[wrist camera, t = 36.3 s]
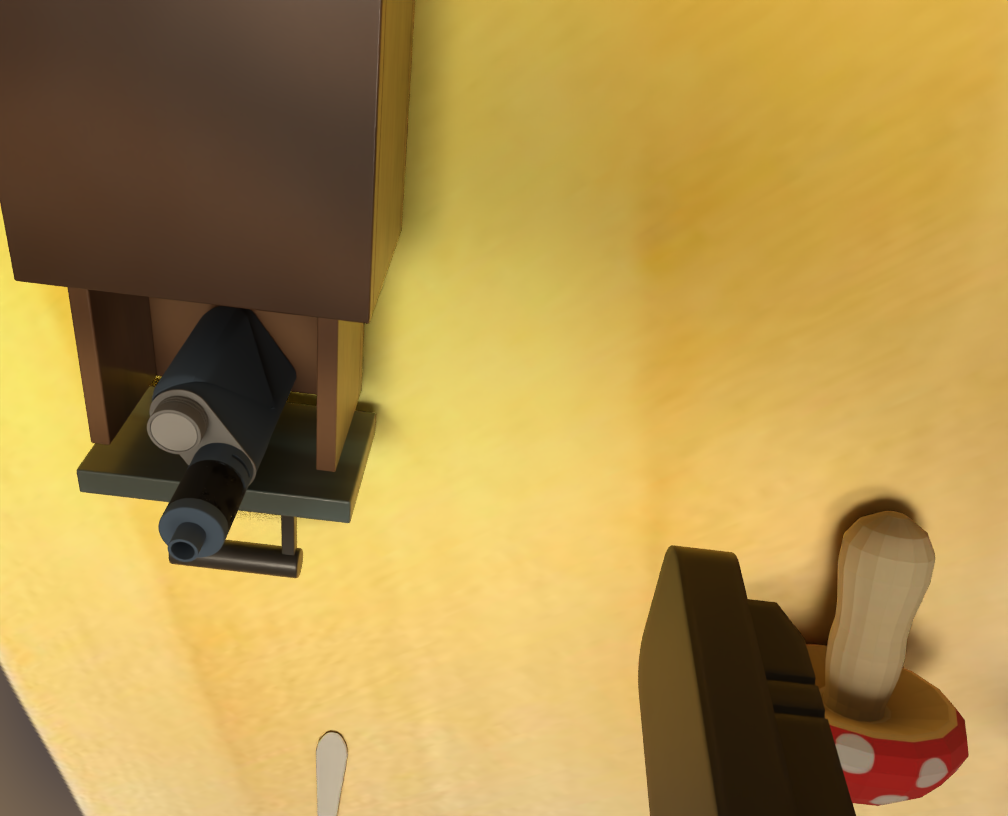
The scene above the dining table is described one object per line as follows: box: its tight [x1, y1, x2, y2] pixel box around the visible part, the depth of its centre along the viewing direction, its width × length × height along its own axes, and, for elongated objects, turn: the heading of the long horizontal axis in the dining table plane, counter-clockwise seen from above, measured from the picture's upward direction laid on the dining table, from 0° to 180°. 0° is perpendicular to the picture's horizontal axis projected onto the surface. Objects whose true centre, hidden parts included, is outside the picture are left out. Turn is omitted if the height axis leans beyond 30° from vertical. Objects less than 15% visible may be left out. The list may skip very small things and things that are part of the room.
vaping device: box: [147, 306, 296, 562], centre depth 37 cm, size 3×5×12 cm, turn 27°
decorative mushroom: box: [806, 511, 968, 806], centre depth 48 cm, size 11×11×15 cm
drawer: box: [68, 287, 376, 578], centre depth 41 cm, size 20×11×7 cm, turn 174°
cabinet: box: [0, 0, 415, 324], centre depth 33 cm, size 16×13×9 cm
